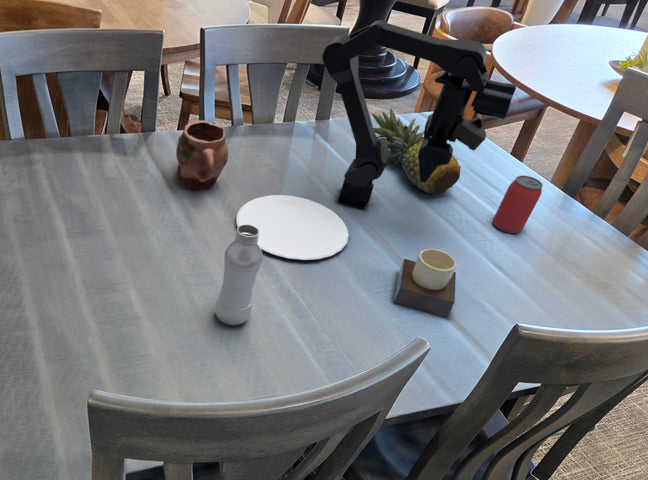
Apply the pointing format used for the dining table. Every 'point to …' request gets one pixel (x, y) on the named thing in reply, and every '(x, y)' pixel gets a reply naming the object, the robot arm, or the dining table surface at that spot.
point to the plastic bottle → (239, 276)
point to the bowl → (433, 269)
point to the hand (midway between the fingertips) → (425, 172)
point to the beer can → (518, 204)
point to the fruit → (414, 154)
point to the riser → (423, 293)
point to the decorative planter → (201, 154)
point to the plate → (294, 227)
